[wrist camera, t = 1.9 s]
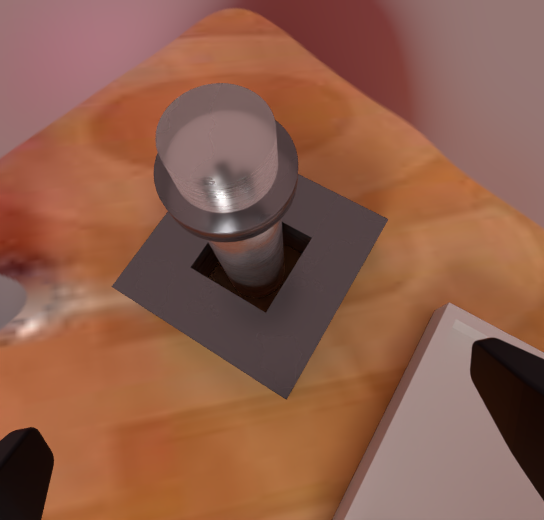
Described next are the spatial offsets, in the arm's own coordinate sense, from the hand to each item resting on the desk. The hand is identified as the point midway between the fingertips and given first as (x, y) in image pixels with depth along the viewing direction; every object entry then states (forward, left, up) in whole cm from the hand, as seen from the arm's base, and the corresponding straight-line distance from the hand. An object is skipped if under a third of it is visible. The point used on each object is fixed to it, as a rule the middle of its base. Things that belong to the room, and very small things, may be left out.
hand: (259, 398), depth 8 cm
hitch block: (+5, +5, -13) cm, 14 cm away
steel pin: (+5, +5, -13) cm, 14 cm away
